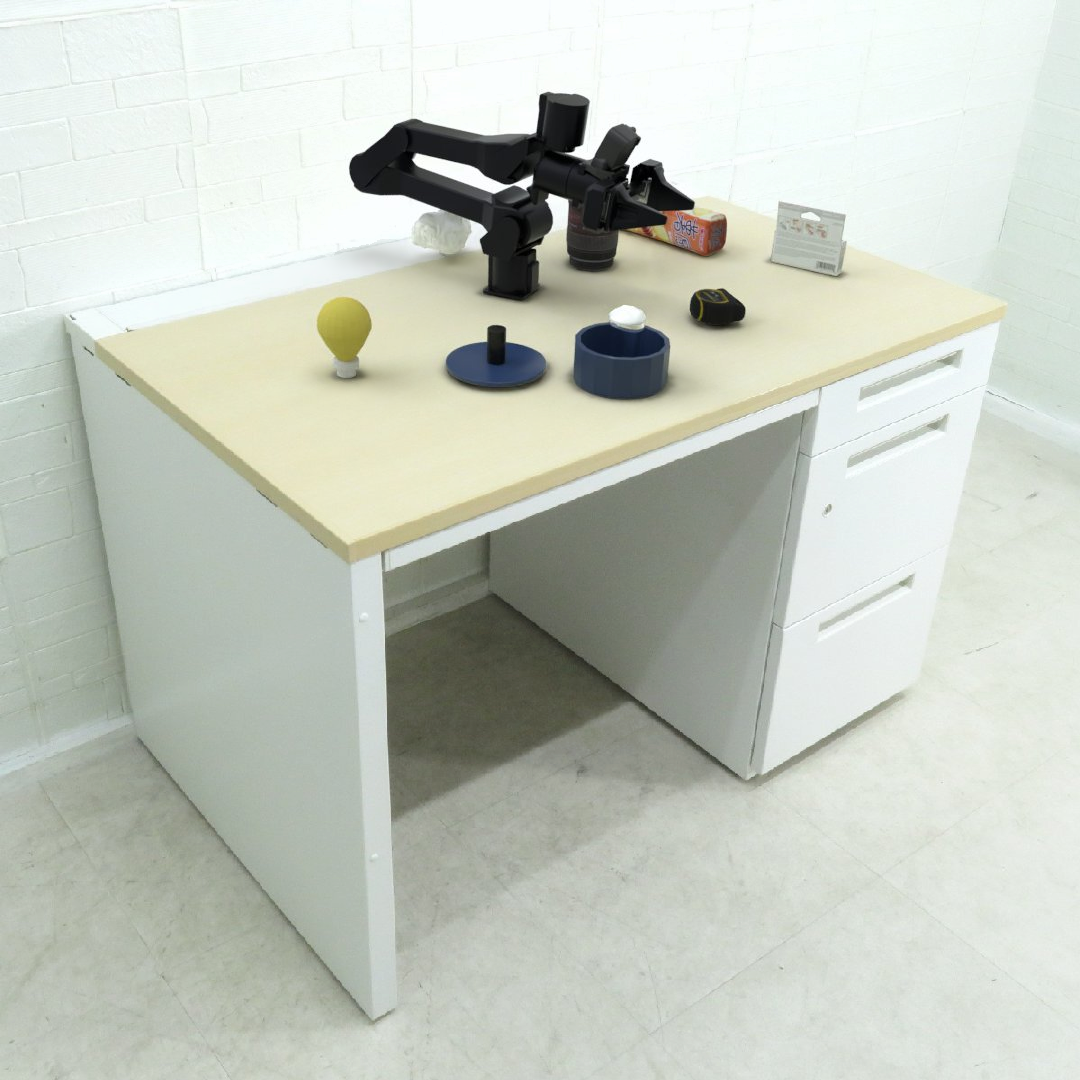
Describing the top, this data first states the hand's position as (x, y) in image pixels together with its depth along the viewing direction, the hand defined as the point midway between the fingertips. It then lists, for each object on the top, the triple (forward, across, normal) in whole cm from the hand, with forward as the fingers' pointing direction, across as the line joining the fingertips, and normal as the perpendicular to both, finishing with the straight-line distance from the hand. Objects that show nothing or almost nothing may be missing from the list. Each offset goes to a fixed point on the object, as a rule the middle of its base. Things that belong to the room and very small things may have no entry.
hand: (680, 213), depth 170 cm
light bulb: (-26, -35, +22) cm, 49 cm away
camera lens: (-19, +18, +18) cm, 31 cm away
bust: (-39, +6, +19) cm, 44 cm away
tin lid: (-11, -24, +18) cm, 32 cm away
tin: (+3, -18, +17) cm, 25 cm away
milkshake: (+3, -18, +17) cm, 25 cm away
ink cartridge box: (+10, +35, +14) cm, 39 cm away
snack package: (-14, +35, +16) cm, 41 cm away
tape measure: (+6, +8, +16) cm, 18 cm away
